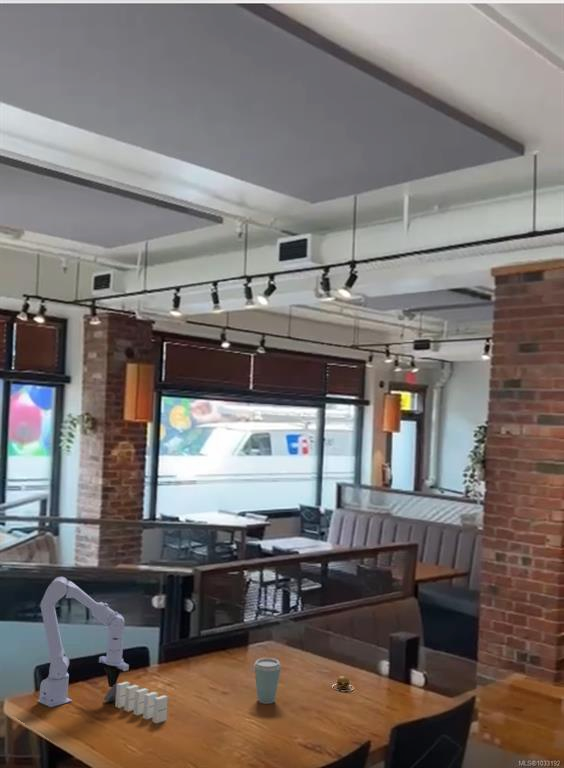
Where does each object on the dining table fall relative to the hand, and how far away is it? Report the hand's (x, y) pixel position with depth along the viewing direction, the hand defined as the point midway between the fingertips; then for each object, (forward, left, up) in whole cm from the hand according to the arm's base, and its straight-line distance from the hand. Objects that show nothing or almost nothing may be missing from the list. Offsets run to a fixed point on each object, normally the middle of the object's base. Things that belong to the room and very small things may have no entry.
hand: (112, 686), depth 282 cm
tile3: (0, -11, -6) cm, 12 cm away
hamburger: (+79, -50, -6) cm, 94 cm away
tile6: (0, -26, -6) cm, 27 cm away
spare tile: (0, +1, -5) cm, 5 cm away
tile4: (0, -16, -6) cm, 17 cm away
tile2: (0, -6, -6) cm, 8 cm away
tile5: (0, -21, -6) cm, 22 cm away
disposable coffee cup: (+43, -38, -6) cm, 58 cm away
